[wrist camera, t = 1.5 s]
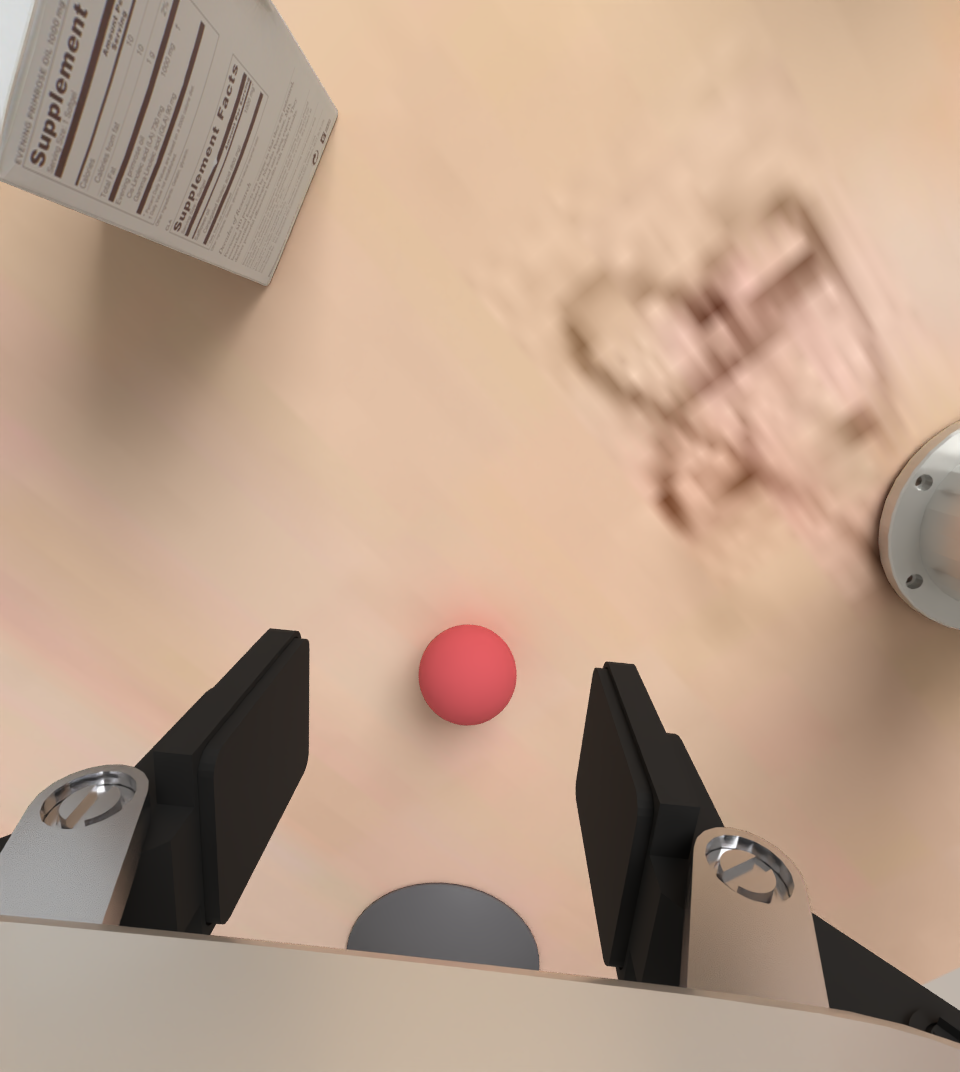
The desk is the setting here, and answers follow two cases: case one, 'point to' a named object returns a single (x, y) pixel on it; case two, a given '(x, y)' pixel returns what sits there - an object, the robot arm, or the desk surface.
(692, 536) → the desk surface
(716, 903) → the robot arm
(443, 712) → the ball
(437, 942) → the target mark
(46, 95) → the supplement box
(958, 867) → the desk surface
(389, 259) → the desk surface
